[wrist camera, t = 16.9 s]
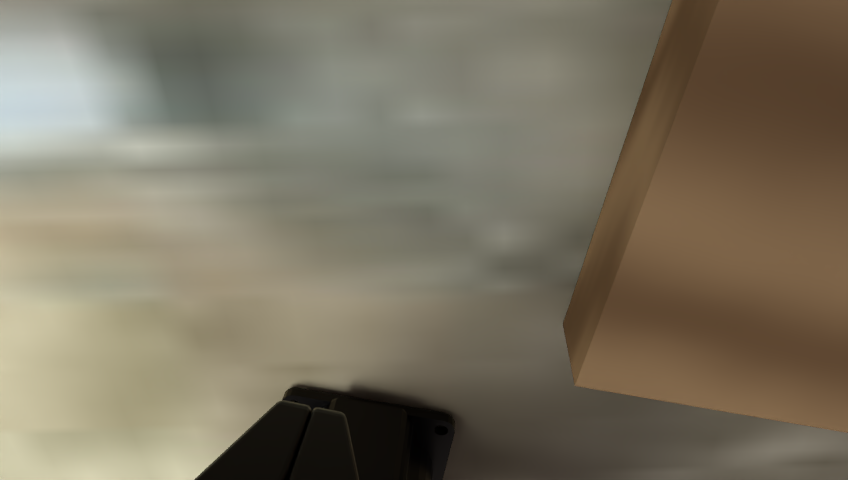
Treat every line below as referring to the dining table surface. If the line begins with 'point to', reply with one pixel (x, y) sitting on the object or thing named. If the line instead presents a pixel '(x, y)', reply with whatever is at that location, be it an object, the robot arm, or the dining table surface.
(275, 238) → the dining table surface
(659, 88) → the walnut board
